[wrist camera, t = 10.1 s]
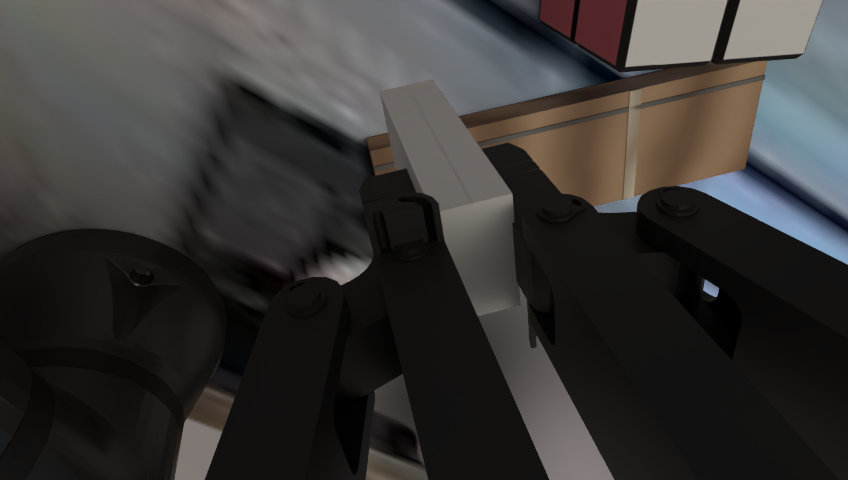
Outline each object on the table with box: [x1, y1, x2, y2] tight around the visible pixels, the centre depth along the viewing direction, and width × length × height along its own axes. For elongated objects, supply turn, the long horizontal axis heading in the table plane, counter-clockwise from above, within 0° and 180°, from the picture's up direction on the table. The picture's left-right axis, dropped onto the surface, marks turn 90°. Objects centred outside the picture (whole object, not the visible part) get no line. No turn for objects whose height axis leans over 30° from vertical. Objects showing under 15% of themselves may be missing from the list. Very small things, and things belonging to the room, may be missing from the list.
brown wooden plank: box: [366, 61, 767, 206], centre depth 38 cm, size 26×8×2 cm, turn 100°
